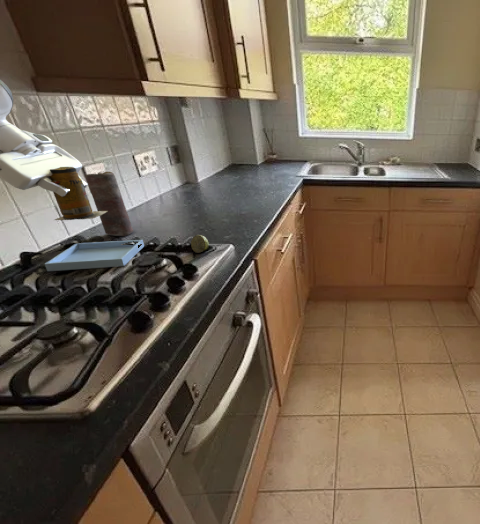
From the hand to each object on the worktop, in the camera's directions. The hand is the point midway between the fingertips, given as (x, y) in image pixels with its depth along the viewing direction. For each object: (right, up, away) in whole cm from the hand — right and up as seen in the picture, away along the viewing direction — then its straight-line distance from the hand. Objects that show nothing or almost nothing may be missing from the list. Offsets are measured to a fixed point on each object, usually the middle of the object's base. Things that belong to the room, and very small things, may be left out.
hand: (76, 190), depth 82 cm
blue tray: (-2, -17, +10) cm, 19 cm away
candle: (-10, -9, +27) cm, 30 cm away
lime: (+23, -15, +15) cm, 32 cm away
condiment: (-1, -6, +3) cm, 7 cm away
